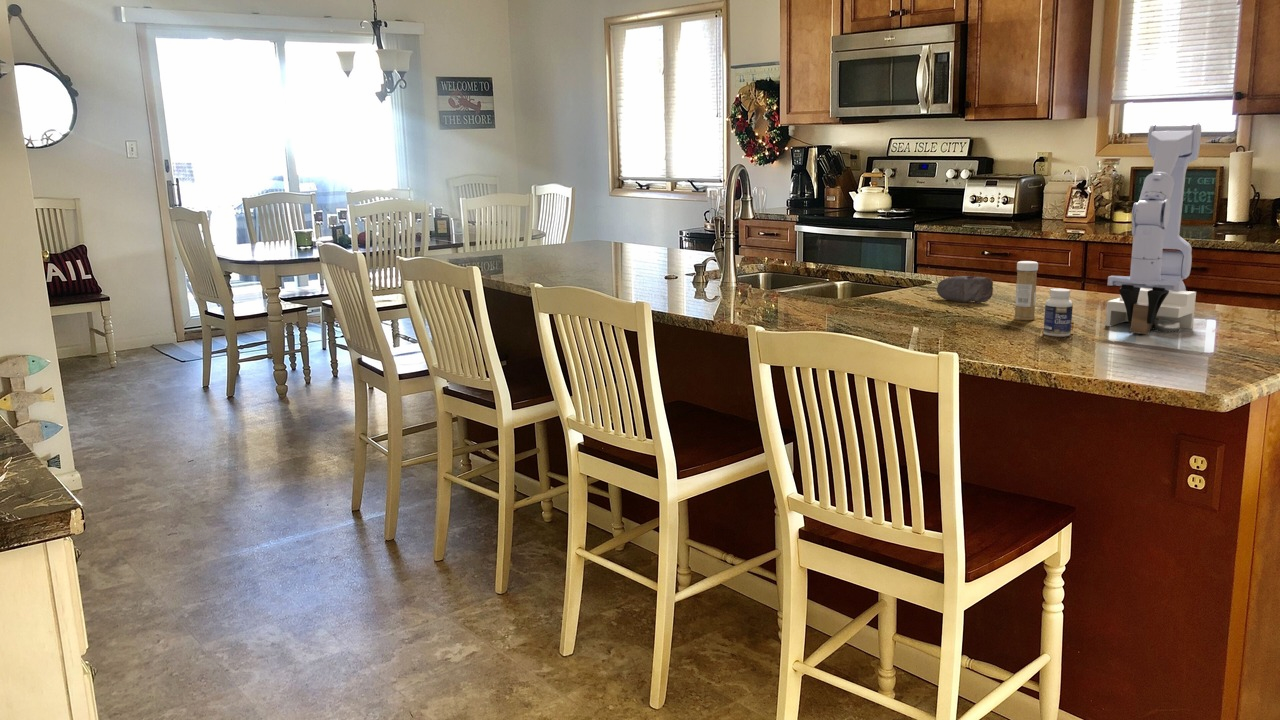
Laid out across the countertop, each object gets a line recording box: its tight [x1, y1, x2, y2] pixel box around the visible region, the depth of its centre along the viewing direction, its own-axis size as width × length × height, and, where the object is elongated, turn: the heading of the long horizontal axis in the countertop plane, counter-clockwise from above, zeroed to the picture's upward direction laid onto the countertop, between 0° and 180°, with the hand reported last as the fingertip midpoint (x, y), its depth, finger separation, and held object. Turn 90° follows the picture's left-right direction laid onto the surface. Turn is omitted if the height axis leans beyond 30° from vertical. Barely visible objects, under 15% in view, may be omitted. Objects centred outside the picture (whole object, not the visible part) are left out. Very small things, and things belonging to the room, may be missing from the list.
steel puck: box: [1152, 319, 1180, 333], centre depth 218 cm, size 5×5×2 cm
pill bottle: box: [1042, 287, 1074, 338], centre depth 215 cm, size 5×5×10 cm
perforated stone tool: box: [936, 275, 994, 304], centre depth 260 cm, size 15×5×7 cm, turn 41°
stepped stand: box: [1105, 287, 1197, 330], centre depth 222 cm, size 9×15×8 cm, turn 42°
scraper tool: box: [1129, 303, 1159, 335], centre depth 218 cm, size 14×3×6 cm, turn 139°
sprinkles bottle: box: [1013, 260, 1039, 322], centre depth 233 cm, size 5×5×14 cm
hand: (1141, 322), depth 214 cm, fingers closed on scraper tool, 3 cm apart
